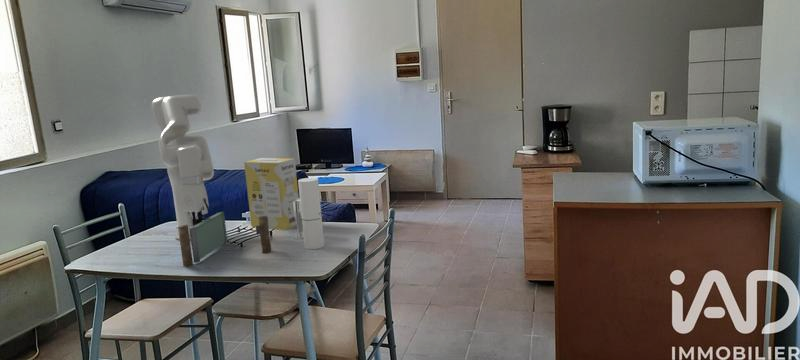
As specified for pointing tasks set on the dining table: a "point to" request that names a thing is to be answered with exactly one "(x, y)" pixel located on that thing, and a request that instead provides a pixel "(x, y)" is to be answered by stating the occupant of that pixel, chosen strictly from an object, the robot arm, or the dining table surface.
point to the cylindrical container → (311, 213)
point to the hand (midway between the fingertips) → (198, 228)
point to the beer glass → (298, 217)
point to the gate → (208, 236)
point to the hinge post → (185, 245)
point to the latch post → (264, 234)
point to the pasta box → (272, 191)
